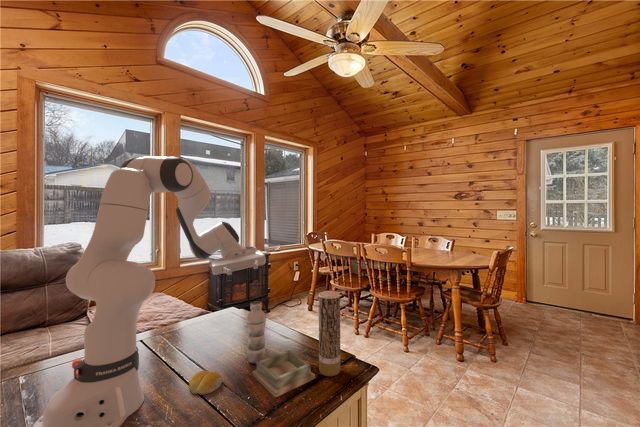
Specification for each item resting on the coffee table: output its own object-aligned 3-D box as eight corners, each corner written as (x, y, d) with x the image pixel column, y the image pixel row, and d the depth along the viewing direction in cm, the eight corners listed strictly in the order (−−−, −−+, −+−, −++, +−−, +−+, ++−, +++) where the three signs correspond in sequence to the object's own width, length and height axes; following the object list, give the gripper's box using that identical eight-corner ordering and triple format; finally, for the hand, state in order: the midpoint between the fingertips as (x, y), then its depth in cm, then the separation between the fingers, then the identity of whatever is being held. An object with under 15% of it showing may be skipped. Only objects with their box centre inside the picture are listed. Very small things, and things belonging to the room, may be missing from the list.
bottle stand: (275, 397, 80) (275, 382, 80) (252, 375, 91) (252, 362, 91) (315, 378, 89) (315, 364, 89) (289, 360, 100) (289, 348, 100)
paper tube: (340, 366, 96) (340, 291, 95) (340, 378, 89) (339, 297, 89) (320, 365, 96) (319, 290, 96) (318, 377, 90) (317, 296, 89)
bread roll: (201, 376, 90) (201, 364, 90) (226, 381, 88) (226, 368, 88) (181, 392, 83) (181, 378, 83) (208, 398, 80) (208, 384, 80)
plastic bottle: (244, 358, 101) (244, 301, 100) (263, 354, 104) (263, 299, 103) (248, 368, 95) (247, 307, 95) (268, 363, 98) (268, 304, 97)
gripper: (207, 255, 112) (212, 268, 100) (259, 245, 121) (269, 256, 109) (209, 270, 113) (214, 284, 101) (260, 259, 122) (270, 271, 110)
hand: (243, 269), depth 105 cm, fingers open, 8 cm apart
